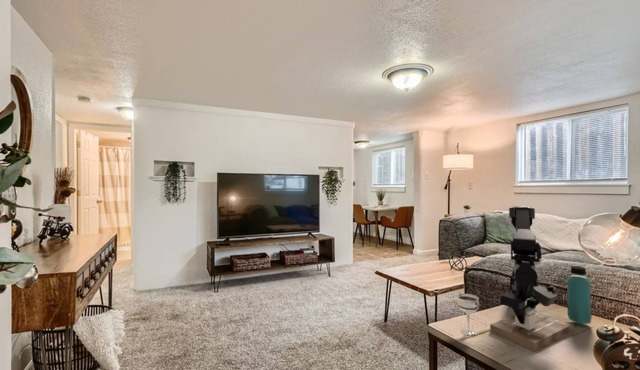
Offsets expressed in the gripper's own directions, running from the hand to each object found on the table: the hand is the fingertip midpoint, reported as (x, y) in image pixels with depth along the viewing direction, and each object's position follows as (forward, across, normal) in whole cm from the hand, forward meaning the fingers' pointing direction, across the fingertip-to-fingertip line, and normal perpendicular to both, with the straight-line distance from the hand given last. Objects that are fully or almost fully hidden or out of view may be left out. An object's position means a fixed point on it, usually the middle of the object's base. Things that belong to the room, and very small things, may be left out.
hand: (525, 322), depth 104 cm
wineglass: (+4, -14, +10) cm, 18 cm away
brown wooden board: (+4, +4, 0) cm, 5 cm away
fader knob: (+2, 0, 0) cm, 2 cm away
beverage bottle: (+4, +23, -6) cm, 24 cm away
